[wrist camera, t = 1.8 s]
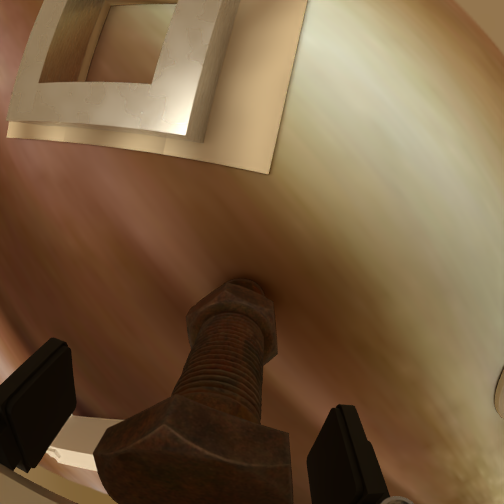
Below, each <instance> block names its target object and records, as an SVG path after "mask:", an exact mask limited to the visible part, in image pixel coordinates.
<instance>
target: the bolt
mask: <svg viewBox="0 0 504 504" xmlns="http://www.w3.org/2000/svg"><path fill="white" fill-rule="evenodd" d="M186 321H187V332H188V338H189V343H190V346H191V352H190V354H189V356H188V358H187V361H186V363H185V366H184V368H183V372H182V375H181V377H180V379H179V380H178V382H177V384H176V386H175V388H174V390H173V392H172V395H171V397H169V398H167V399H165V400H163V401H162V402H160V403H158V404H156V405H154V406H152V407H150V408H148V409H146V410H144V411H142V412H140V413H138V414H136V415H134V416H132V417H130V418H128V419H126V420H123V421H121V422H119V423H117V424H115V425H113V426H111V427H109V428H107V429H106V431H105V433H104V434H103V436H102V438H101V439H100V441H99V443H98V445H97V446H96V448H95V450H94V452H93V457H94V461H95V464H96V468H97V472H98V475H99V477H100V480H101V482H102V484H103V486H104V488H105V490H106V491H107V493H108V495H109V496H110V497H111V498H112V499H113V500H114V501H115V502H117V503H118V504H293V484H292V470H291V457H290V445H289V433H287V432H283V431H280V430H276V429H273V428H270V427H266V426H263V425H261V423H260V420H261V406H262V404H261V401H262V398H261V395H262V394H261V393H262V381H263V376H262V375H263V365H265V364H266V363H267V362H269V361H270V360H271V359H272V358H273V357H275V356H276V355H277V354H278V353H277V335H276V324H275V314H274V306H273V301H271V300H269V299H268V298H266V297H265V295H264V292H263V290H262V289H261V287H260V286H259V285H258V284H257V283H255V282H254V281H251V280H248V279H233V280H230V281H228V282H226V283H224V284H223V285H222V286H221V287H219V288H217V289H216V290H214V291H213V292H211V293H210V294H208V295H207V296H206V297H204V298H203V299H202V300H200V301H199V302H198V303H197V304H196V305H194V306H193V307H192V308H191V309H190V311H189V312H188V314H187V316H186Z"/></svg>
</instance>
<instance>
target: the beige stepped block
mask: <svg viewBox="0 0 504 504" xmlns="http://www.w3.org/2000/svg"><path fill="white" fill-rule="evenodd" d="M121 421H123V420H116V419H103V418H92V417H82V416H74V415H73V413H72V414H71V416H70V417H69V419H68V420H67V422H66V423H65V424H64V426H63V427H62V429H61V430H60V432H59V433H58V435H57V436H56V438H55V439H54V441H53V442H52V444H51V445H50V447H49V448H48V450H47V451H46V453H49V455H50V456H51V457H54V458H55V459H56V460H57V461H58V463H62V464H66V465H70V466H75V467H79V468H84V469H89V470H94V471H97V468H96V464H95V461H94V457H93V452H94V450H95V448H96V446H97V445H98V443H99V441H100V439H101V438H102V436H103V434H104V433H105V431H106V429H107V428H109V427H111V426H113V425H115V424H117V423H119V422H121Z"/></svg>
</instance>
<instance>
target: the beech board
mask: <svg viewBox="0 0 504 504" xmlns="http://www.w3.org/2000/svg"><path fill="white" fill-rule="evenodd" d="M163 3H167V4H177V3H178V0H105V2H104V5H103V7H102V9H101V12H100V14H99V17H98V20H97V22H96V25H95V27H94V30H93V33H92V36H91V39H90V42H89V44H88V47H87V50H86V54H85V57H84V60H83V63H82V66H81V70H80V73H79V77H78V80H77V82H85V81H86V77H87V74H88V70H89V67H90V64H91V60H92V57H93V54H94V51H95V48H96V45H97V42H98V39H99V36H100V33H101V30H102V28H103V25H104V22H105V20H106V17H107V14H108V12H109V9H110V7H111V6H115V5H130V4H163ZM306 4H307V0H241V1H240V4H239V7H238V11H237V14H236V17H235V21H234V24H233V28H232V31H231V34H230V38H229V42H228V45H227V49H226V52H225V56H224V60H223V63H222V67H221V71H220V75H219V79H218V83H217V87H216V91H215V95H214V99H213V103H212V107H211V111H210V115H209V120H208V124H207V128H206V133H205V137H204V142H203V143H197V142H191V141H184V140H178V139H171V138H165V137H158V136H150V135H143V134H135V133H126V132H117V131H108V130H98V129H86V128H73V127H58V126H42V125H35V124H28V123H20V122H13V121H10V122H9V127H8V132H7V137H8V138H24V139H38V140H51V141H62V142H72V143H82V144H91V145H100V146H108V147H116V148H123V149H130V150H138V151H144V152H151V153H158V154H164V155H170V156H176V157H182V158H188V159H193V160H199V161H204V162H210V163H215V164H220V165H225V166H230V167H235V168H240V169H245V170H250V171H255V172H259V173H264V174H268V175H269V170H270V166H271V161H272V157H273V152H274V148H275V143H276V139H277V134H278V130H279V125H280V121H281V116H282V112H283V107H284V103H285V98H286V94H287V89H288V85H289V80H290V76H291V71H292V67H293V63H294V58H295V54H296V49H297V45H298V40H299V36H300V31H301V27H302V22H303V18H304V13H305V9H306Z"/></svg>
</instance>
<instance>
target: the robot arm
mask: <svg viewBox="0 0 504 504" xmlns="http://www.w3.org/2000/svg"><path fill="white" fill-rule="evenodd" d="M75 408H76V394H75V386H74V378H73V368H72V356H71V349H70V348H69V347H68V345H67V343H66V342H64V341H61V340H59V339H56V338H50V339H49V340H48V341H47V342H46V343H45V344H44V345H43V346H41V347H40V348H39V349H38V350H37V351H36V352H35V353H34V354H33V355H32V356H31V357H29V358H28V359H27V360H26V361H25V362H24V363H23V364H22V365H21V366H20V367H19V368H18V369H17V370H16V371H14V372H13V373H12V374H11V375H10V376H9V377H8V378H7V379H6V380H5V381H4V382H3V383H2V384H1V385H0V504H78V503H75V502H73V501H70V500H68V499H66V498H64V497H62V496H60V495H57V494H55V493H53V492H51V491H49V490H47V489H45V488H43V487H41V486H39V485H37V484H35V483H34V482H32V481H30V480H28V479H26V478H24V477H22V476H21V475H19V474H17V473H15V472H14V469H15V468H16V467H17V468H19V469H21V470H23V471H24V472H26V473H28V472H29V470H30V469H31V468H35V467H36V466H37V465H38V463H39V462H40V460H41V459H42V457H43V456H44V454H45V453H46V451H47V450H48V448H49V447H50V445H51V444H52V442H53V441H54V439H55V438H56V436H57V435H58V433H59V432H60V430H61V429H62V427H63V426H64V424H65V423H66V422H67V420H68V419H69V417H70V416H71V414H72V413H73V411H74V410H75ZM495 408H496V411H497V412H498V414H499V415H500V416H501V417H502V418H503V419H504V370H503V372H502V375H501V377H500V379H499V382H498V385H497V389H496V393H495ZM307 470H308V477H309V484H310V492H311V500H312V504H414V503H413V502H412V501H410V500H408V499H407V498H404V497H399V496H393V497H390V495H389V492H388V489H387V486H386V483H385V480H384V478H383V475H382V472H381V469H380V466H379V463H378V460H377V458H376V455H375V452H374V449H373V447H372V444H371V442H369V441H367V438H366V435H365V432H364V430H363V427H362V424H361V421H360V418H359V416H358V413H357V410H356V408H355V406H353V405H341V404H339V405H337V407H336V408H332V409H331V410H330V412H329V415H328V417H327V419H326V421H325V423H324V425H323V427H322V429H321V431H320V433H319V435H318V437H317V439H316V441H315V443H314V445H313V447H312V448H311V450H310V452H309V454H308V457H307Z"/></svg>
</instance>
